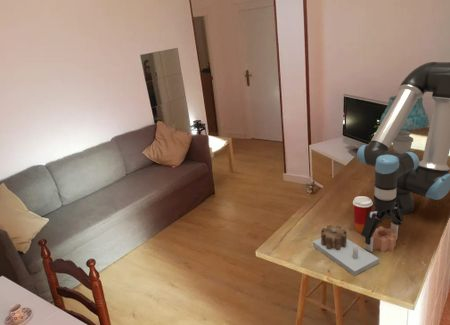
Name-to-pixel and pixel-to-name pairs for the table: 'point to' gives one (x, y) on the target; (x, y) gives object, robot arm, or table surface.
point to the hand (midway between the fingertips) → (381, 244)
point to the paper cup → (361, 211)
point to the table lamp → (408, 125)
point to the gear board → (349, 256)
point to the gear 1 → (333, 237)
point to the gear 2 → (384, 239)
